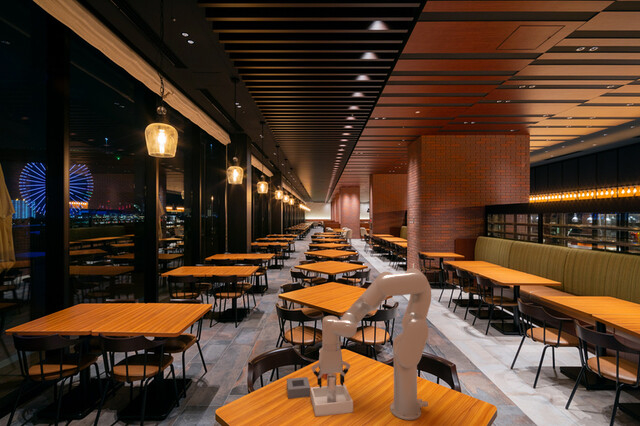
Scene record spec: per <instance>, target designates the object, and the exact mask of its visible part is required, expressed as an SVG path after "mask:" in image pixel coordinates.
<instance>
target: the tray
mask: <svg viewBox="0 0 640 426" xmlns="http://www.w3.org/2000/svg"><path fill="white" fill-rule="evenodd" d="M310 400H311V405H312V409H313V413H314V416H315V417H324V416H333V415H341V414H350V413H354V400H353V399H352V396H351V394H350V392H349V391H348V388H347V386H346V384H343V386H342V385H341V384H336V402H333V403H327V385H325V386H322V387H321V388H320V387H319V386H314V387H312V386H311V387H310Z"/></svg>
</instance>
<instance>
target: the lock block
mask: <svg viewBox="0 0 640 426" xmlns="http://www.w3.org/2000/svg"><path fill="white" fill-rule="evenodd" d="M286 391H287V398H288V400H289V399H299V398H308V397H310V398H311V386H310V382H309V378H308V376H306V377H305V376H303V377H302V376H301V377H292V378H286Z"/></svg>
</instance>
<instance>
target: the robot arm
mask: <svg viewBox="0 0 640 426" xmlns="http://www.w3.org/2000/svg"><path fill="white" fill-rule="evenodd" d="M408 295H410V296H409V300H408V302H407V306H406V309H405V312H404V315H403V317H402V320H401V326H402V329H403V330H402V332H401V333H399V334H398V335H396V336H395V337H394V339H393V343H392V354H393V355H392V356H393V402H391V403H390V406H389V410H390V412H391V413H392V415H393V416H395V417H397V418H398V419H401V420H406V421H413V420H417V419H418V418H419V419H420V417H421V415H422V409H421V408H423V407H424V408H426V407H429V402H428V401H427V400H425V401H423V399H422V398H418V364H419V363H420V361H421V359H422V355H423V354H424V350H425V347H426V344H427V341H428V338H429V333H430V331H429V330H430V329H429V326H428V324H427V317H428V314H429V310H430V306H431V302H432V288H431V285H430V283H429V281H428V278H427V276H426V275H425V274H424V273H423V272H422V271H421V270H419V269H418V268H414V267H412V268H408V269H407V270H406V271H405V272H404V273H397V274H396V273H395V274H393V273H392V272H389V271H382V272H381V273H379V274H378V275H377V277H376V278H375V279H374V280H373V281H372V283H371V284H370V285H368V287H367V288H366V289H365V291H364V292H363V293H362V294H360V296H359V297H358V298H357V300H355V301H354V303H353V304H351V306H350V307H349V308H348V309H347V310H346V311H345V313H344V314H343V315H342V316H341V319H339V317H338V316H335V315H328V316H325V317H323V318H322V323H321V324H322V327H321V329H322V330H321V331H322V334H321V335H322V338H321V339H322V342H321V344H322V345H321V346H322V347H321V348H319V351H320V353H319V355H318V356H319V357H318V362H317V363H315V364H314V365H312V366H311V371H312V373H313V374H314V376H315V377H316V378H317V382H316V383H317V385H318V387H320V388H321V387H323V386H322V381H323V380H322V379H323V378H322V377H321V376H322V375H323V374H328V373H333V374H338V373H339V383H340V385H342V386H343V385H344V383H345V377H346V375H347V373H348V372H349V370H350V368H351V364H350V363H348V362H347V361H344V360H343V355H342V354H343V353H342V349H341V346H343V345H344V344H343V342H342V341H340V337H342V338H353V337H354V336H355V335H356V334H357V329H358V328H357V327H358V324H359V323H360V322H361V321H362V320H363V318H364V317H366V315H367V314H369V313H370V312H375V311H376V310H377V309H378V308H379V307H380V306H381V305H382V304H383V302H384V301H385V300H386V299H387V298H388V297H389V296H390V297H392V296H394V297H395V296H397V297H398V296H408ZM344 366H345V368H344ZM316 369H318V371H317V370H316Z"/></svg>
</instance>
